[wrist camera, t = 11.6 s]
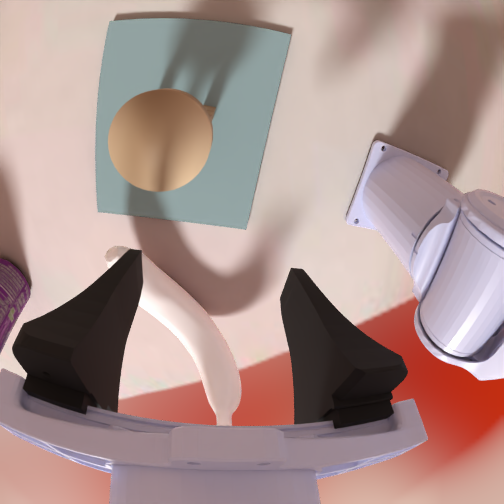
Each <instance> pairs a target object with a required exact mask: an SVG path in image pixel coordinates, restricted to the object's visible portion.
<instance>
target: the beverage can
mask: <svg viewBox="0 0 504 504" xmlns="http://www.w3.org/2000/svg"><path fill="white" fill-rule="evenodd" d="M29 298H30V288H29V285H28V282H27V281H26V279H25V277H24V276H23V274H22V273H21V272H20V270H19V269H18V268H17V267H16V266H14V265H13V264H12V263H10V262H9V261H7V260H5V259H1V258H0V353H1V351H2V349H3V347H4V345H5V343H6V341H7V339H8V336H9V334H10V332H11V331H12V329H13V327H14V325H15V323H16V321H17V319H18V317H19V315H20V314H21V312H22V310H23V308H24V306H25V305H26V303H27V301H28V300H29Z"/></svg>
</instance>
